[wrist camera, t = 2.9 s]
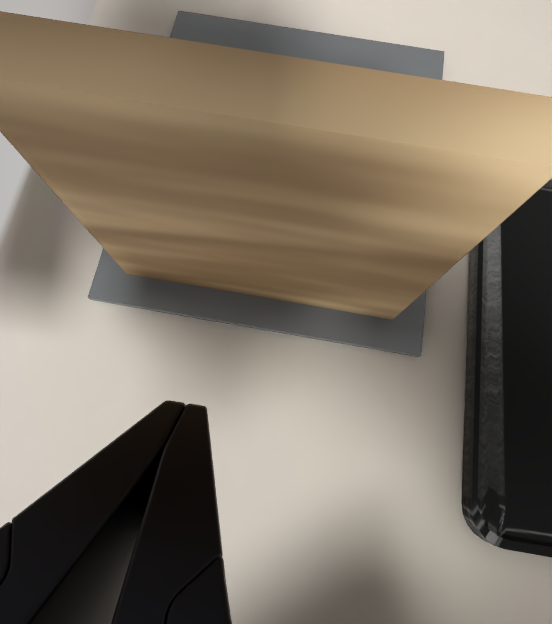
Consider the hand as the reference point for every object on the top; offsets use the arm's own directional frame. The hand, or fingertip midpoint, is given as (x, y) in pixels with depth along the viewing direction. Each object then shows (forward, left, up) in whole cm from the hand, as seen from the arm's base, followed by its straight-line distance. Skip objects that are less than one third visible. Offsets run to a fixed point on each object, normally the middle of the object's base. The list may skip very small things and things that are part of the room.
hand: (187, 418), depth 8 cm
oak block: (+6, +1, -7) cm, 9 cm away
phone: (+8, -12, -8) cm, 16 cm away
